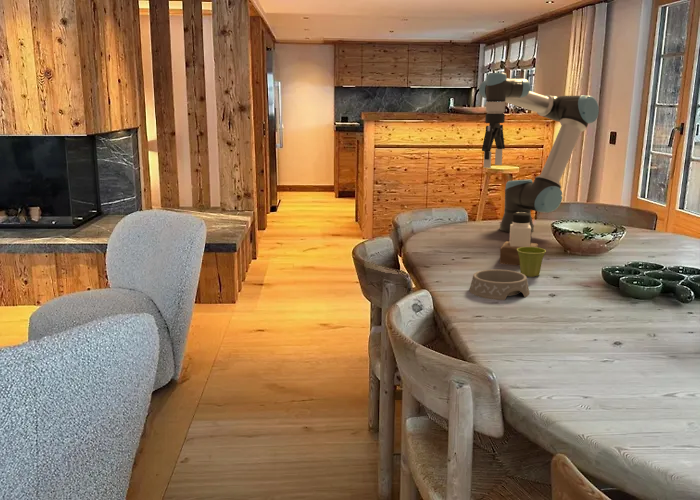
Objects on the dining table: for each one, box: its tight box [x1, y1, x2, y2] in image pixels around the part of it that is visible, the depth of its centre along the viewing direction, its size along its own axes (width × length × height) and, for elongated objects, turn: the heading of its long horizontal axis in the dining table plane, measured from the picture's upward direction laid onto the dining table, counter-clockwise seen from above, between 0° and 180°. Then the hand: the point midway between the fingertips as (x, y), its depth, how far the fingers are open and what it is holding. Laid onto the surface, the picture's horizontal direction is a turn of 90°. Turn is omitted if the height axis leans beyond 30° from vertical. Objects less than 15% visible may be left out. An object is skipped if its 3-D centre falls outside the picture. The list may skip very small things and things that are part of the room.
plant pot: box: [517, 246, 547, 278], centre depth 210 cm, size 9×9×9 cm
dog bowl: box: [468, 269, 530, 301], centre depth 192 cm, size 17×18×5 cm
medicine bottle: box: [509, 212, 532, 247], centre depth 226 cm, size 7×7×12 cm
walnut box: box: [499, 240, 539, 266], centre depth 228 cm, size 12×12×6 cm
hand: (492, 166), depth 253 cm, fingers open, 13 cm apart
